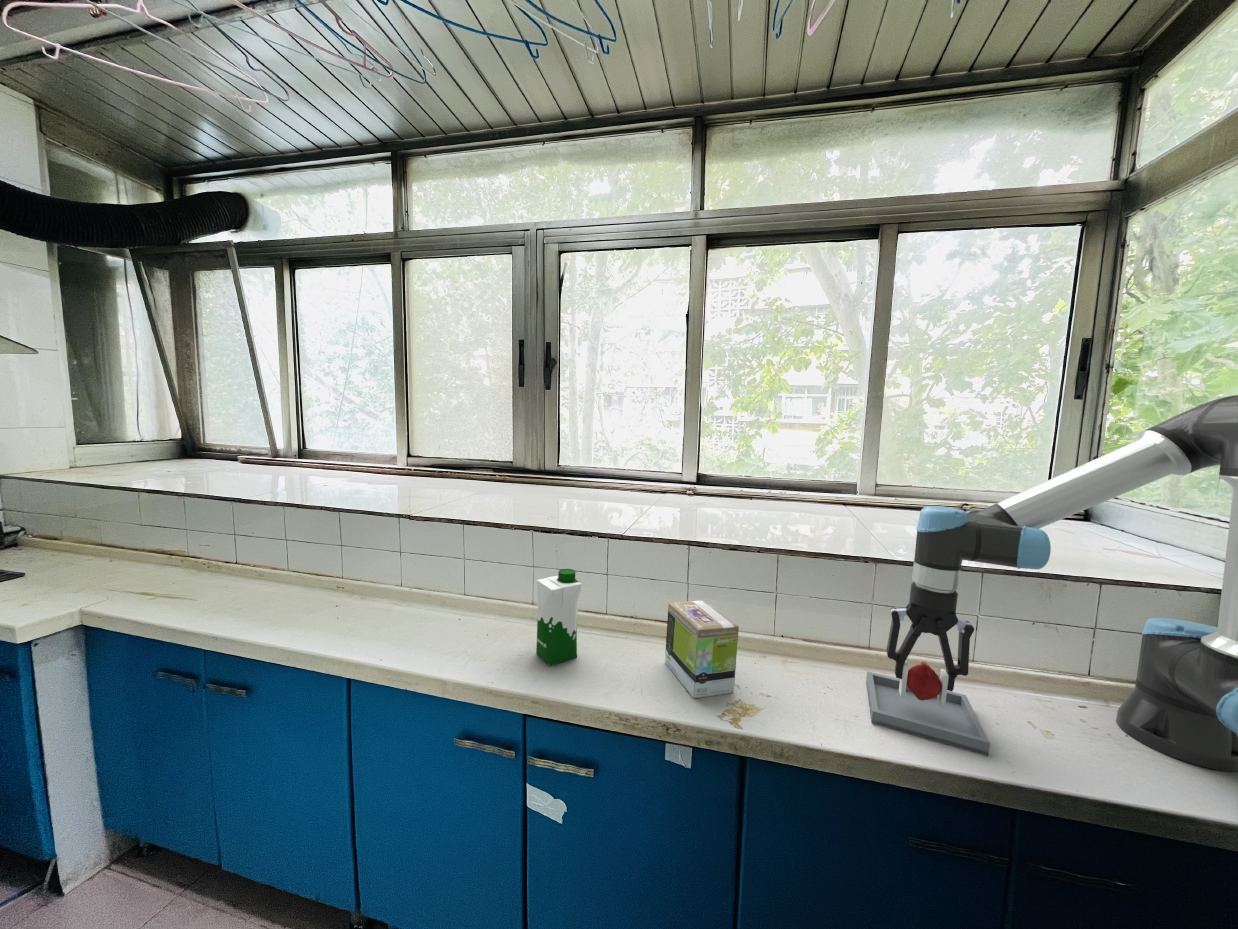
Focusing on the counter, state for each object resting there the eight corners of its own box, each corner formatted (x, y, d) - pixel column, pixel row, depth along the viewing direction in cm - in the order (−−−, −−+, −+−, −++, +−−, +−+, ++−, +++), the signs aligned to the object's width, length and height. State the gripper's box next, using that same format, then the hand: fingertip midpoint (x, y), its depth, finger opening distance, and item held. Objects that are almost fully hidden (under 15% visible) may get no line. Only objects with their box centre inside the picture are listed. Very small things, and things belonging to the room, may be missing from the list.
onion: (940, 700, 90) (945, 662, 90) (936, 713, 86) (941, 673, 85) (906, 687, 94) (910, 651, 93) (901, 699, 90) (905, 661, 89)
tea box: (735, 693, 95) (740, 625, 94) (692, 700, 92) (697, 630, 90) (701, 657, 109) (705, 598, 108) (663, 662, 106) (666, 601, 105)
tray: (964, 706, 94) (965, 695, 93) (988, 756, 79) (990, 743, 79) (866, 682, 101) (867, 671, 101) (871, 723, 87) (872, 711, 87)
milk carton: (582, 658, 106) (585, 575, 104) (547, 669, 101) (550, 582, 99) (563, 642, 113) (566, 564, 111) (530, 652, 108) (532, 570, 106)
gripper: (988, 589, 87) (974, 703, 89) (877, 571, 95) (866, 676, 97) (1001, 603, 81) (985, 725, 83) (880, 582, 89) (868, 694, 91)
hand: (921, 698), depth 90 cm, fingers closed on onion, 6 cm apart
